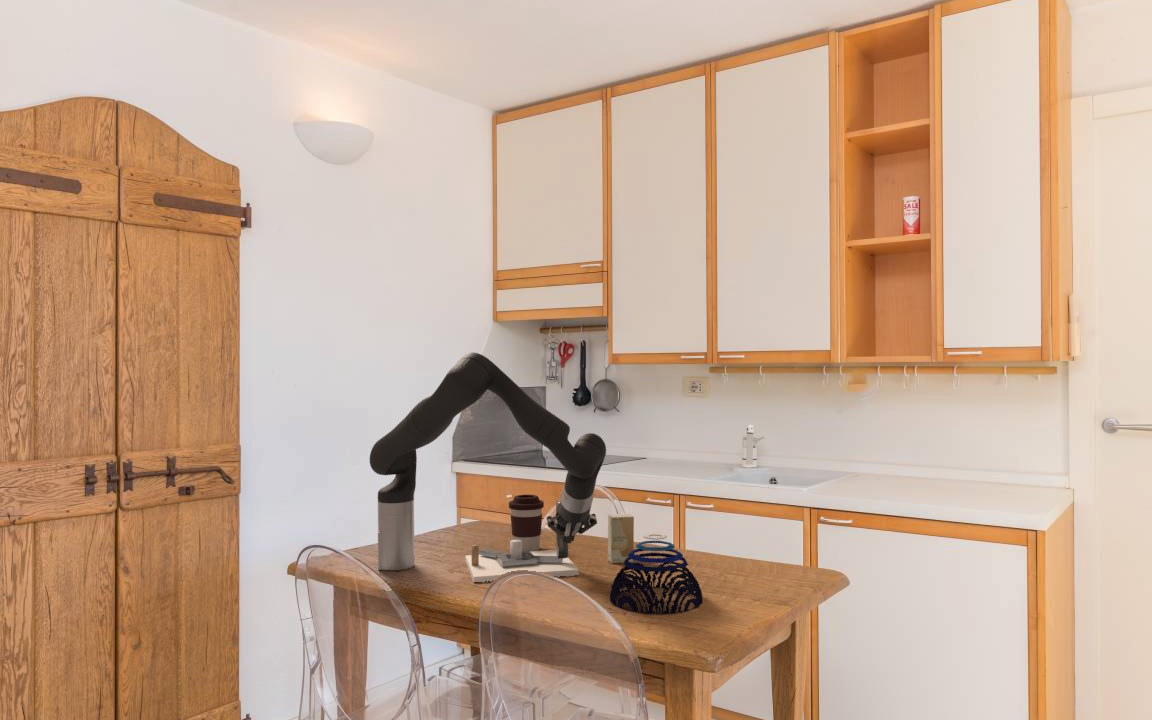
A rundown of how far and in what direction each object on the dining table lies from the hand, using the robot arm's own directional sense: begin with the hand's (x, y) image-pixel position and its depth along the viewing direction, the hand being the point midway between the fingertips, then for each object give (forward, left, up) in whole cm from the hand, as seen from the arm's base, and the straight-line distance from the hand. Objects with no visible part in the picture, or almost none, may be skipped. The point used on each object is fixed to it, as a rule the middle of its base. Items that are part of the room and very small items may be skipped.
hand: (567, 540), depth 203 cm
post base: (-12, +6, -8) cm, 16 cm away
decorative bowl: (+14, -29, -8) cm, 33 cm away
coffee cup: (-6, +26, -8) cm, 28 cm away
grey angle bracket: (-10, +9, -6) cm, 14 cm away
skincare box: (+16, +6, -8) cm, 19 cm away
